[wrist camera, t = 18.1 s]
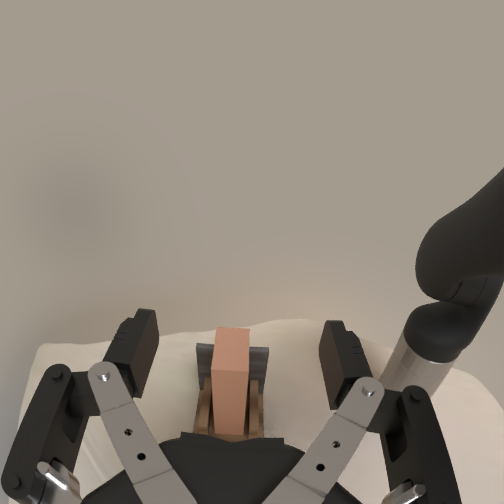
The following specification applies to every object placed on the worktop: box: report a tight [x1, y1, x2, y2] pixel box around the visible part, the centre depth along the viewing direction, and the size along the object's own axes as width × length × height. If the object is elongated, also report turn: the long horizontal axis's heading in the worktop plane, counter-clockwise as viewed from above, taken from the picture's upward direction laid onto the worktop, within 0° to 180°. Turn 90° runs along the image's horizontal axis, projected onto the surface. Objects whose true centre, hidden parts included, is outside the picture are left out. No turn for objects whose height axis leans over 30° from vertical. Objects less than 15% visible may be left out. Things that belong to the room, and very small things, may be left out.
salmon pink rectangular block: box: [211, 327, 249, 435], centre depth 37 cm, size 7×4×15 cm, turn 0°
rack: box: [193, 343, 269, 442], centre depth 38 cm, size 12×10×12 cm
